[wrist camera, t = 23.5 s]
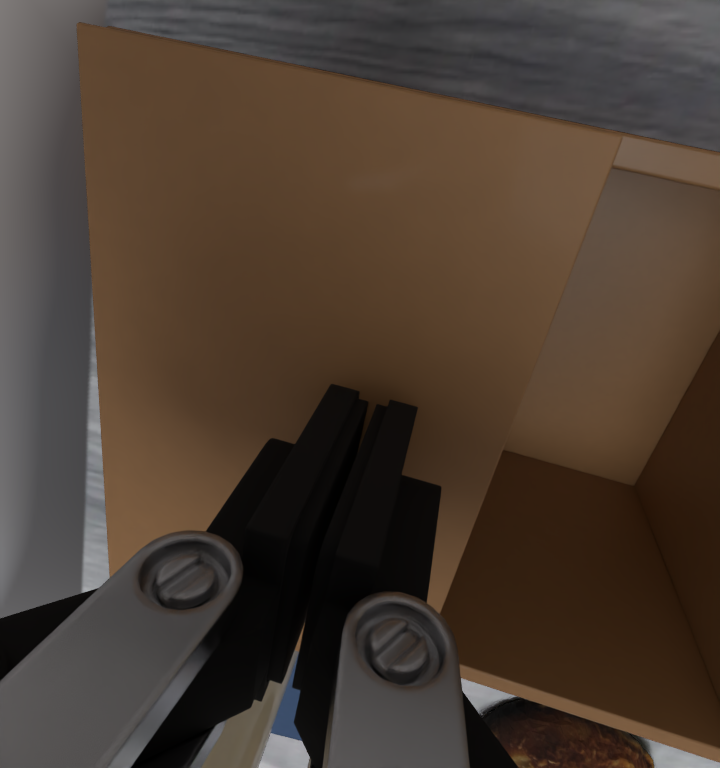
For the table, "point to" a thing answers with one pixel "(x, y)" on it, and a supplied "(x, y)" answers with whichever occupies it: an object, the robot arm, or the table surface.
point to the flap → (312, 271)
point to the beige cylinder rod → (250, 729)
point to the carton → (612, 471)
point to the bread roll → (562, 739)
